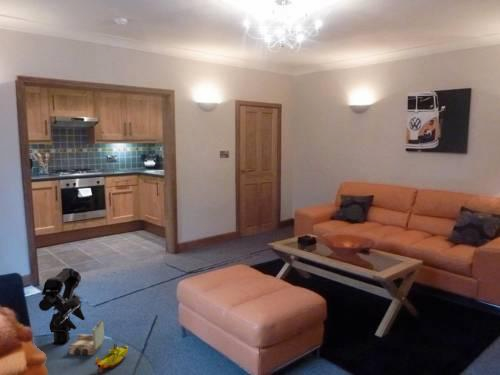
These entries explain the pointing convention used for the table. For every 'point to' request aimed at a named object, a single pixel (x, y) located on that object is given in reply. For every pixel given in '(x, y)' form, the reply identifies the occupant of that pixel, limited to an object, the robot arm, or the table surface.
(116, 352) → the toy boat
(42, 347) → the table surface
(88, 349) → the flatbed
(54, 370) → the table surface
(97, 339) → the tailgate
